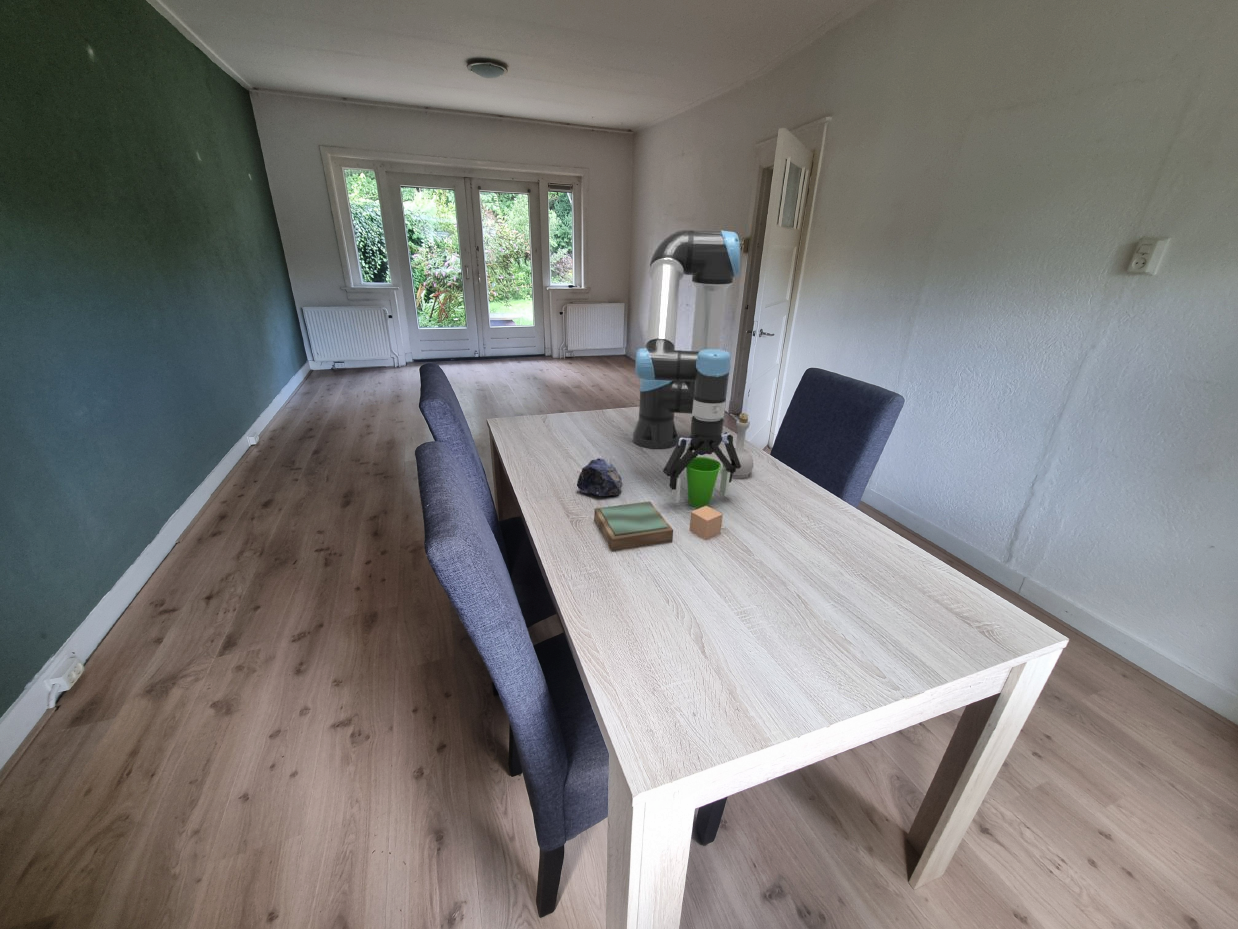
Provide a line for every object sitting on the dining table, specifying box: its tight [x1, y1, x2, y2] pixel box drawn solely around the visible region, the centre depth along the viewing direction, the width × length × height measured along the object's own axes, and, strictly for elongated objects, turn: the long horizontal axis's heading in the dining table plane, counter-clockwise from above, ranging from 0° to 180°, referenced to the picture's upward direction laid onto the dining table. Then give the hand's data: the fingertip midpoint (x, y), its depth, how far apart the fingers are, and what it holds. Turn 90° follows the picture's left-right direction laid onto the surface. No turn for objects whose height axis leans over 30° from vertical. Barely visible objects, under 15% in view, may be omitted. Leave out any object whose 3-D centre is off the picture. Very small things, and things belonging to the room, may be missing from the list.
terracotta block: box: [689, 505, 723, 541], centre depth 112 cm, size 5×5×5 cm
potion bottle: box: [721, 412, 755, 479], centre depth 140 cm, size 9×9×18 cm
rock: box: [576, 457, 624, 497], centre depth 129 cm, size 11×10×10 cm
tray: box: [593, 500, 674, 552], centre depth 112 cm, size 14×14×3 cm
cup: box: [685, 456, 723, 509], centre depth 124 cm, size 9×9×11 cm
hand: (699, 496), depth 125 cm, fingers open, 13 cm apart
